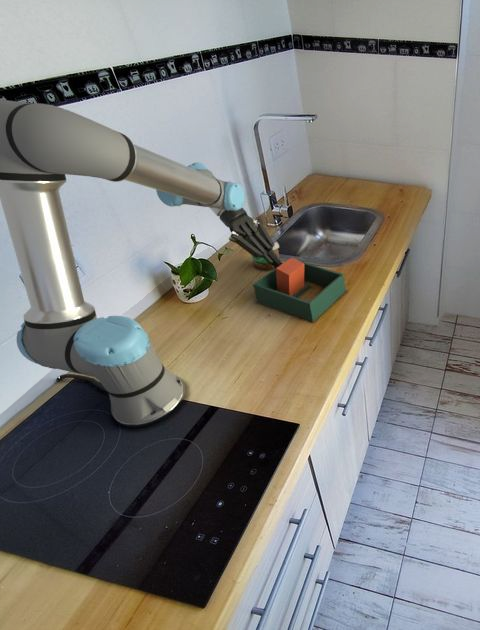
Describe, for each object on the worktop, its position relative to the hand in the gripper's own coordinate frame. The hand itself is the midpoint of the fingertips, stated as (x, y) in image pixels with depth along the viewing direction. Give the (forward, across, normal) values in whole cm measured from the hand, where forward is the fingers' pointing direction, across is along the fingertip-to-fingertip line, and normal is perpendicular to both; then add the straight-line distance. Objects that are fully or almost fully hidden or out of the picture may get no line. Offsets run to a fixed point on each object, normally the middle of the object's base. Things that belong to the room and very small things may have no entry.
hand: (281, 269), depth 127 cm
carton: (+7, 0, -4) cm, 8 cm away
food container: (-6, -8, -18) cm, 21 cm away
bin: (+11, 0, -2) cm, 11 cm away
